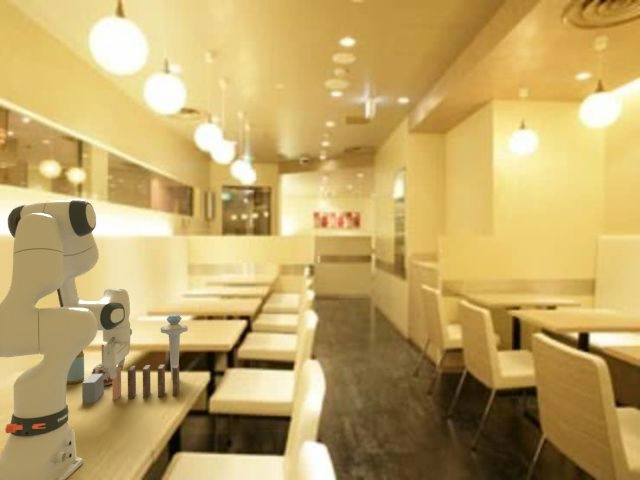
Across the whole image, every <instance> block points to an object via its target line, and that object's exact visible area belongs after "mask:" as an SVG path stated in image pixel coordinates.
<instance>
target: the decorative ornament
mask: <svg viewBox="0 0 640 480" xmlns="http://www.w3.org/2000/svg"><path fill="white" fill-rule="evenodd" d="M104 347H105V344H101V363H98V364H97V365H95V366H94V367H93V368H92V371H91V374H103V379H104V386H109V385H112V379H111V378H110V372H109V368H104V365H103V357H104Z"/></svg>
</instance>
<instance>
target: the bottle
mask: <svg viewBox="0 0 640 480" xmlns="http://www.w3.org/2000/svg"><path fill="white" fill-rule="evenodd" d="M83 350H84V349H83ZM83 350H82V351H81V352H80V353H79V354H78V356H77V357H76V358H75V360H74V361H73V363H72V365H71V367H70V369H69V372H68V376H67V384H66V385H74V384H79V383H83V382H84V381H85V352H84V351H83Z"/></svg>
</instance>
